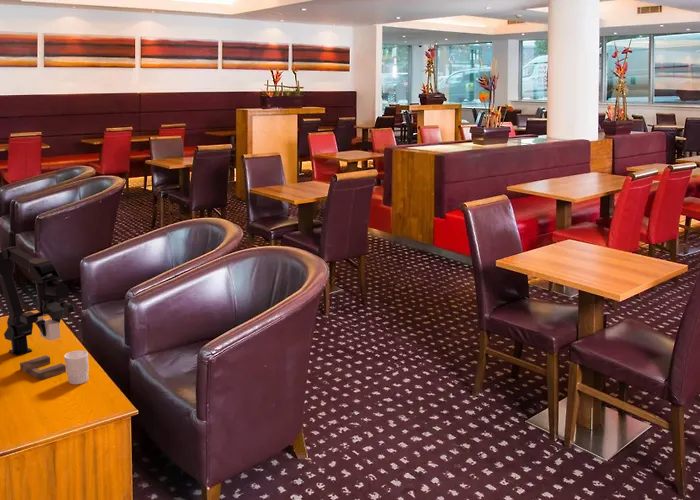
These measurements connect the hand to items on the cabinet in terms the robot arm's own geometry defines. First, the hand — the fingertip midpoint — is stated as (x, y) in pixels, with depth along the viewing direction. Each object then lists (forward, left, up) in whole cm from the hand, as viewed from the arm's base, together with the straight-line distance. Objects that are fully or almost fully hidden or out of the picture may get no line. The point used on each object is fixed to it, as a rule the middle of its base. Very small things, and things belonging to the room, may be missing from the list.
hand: (50, 334), depth 272 cm
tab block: (0, 0, -1) cm, 1 cm away
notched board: (+4, -6, -11) cm, 14 cm away
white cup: (+22, -2, -12) cm, 25 cm away
